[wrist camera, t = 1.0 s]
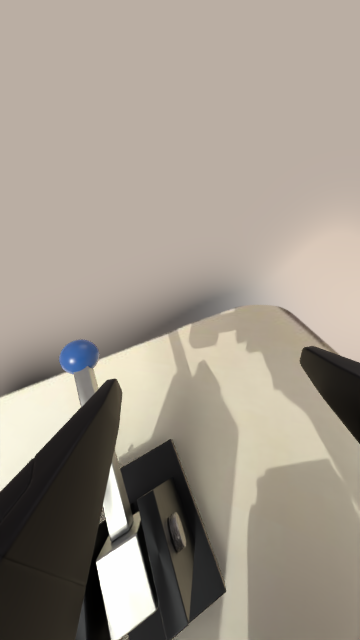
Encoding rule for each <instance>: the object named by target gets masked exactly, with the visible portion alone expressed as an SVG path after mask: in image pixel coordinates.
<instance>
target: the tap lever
mask: <svg viewBox="0 0 360 640" xmlns="http://www.w3.org/2000/svg"><path fill="white" fill-rule="evenodd" d="M98 360H99V351H98V348H97V347H96V346H95V344H93V343H92V342H90V341H88V340H75V341H72V342H70V343H68V344H67V345H66V346H65V347H64V348H63V349H62V351H61V353H60V357H59V361H60V365H61V367H62V368H63V369H64V370H65V371H66V372H68V373H70V374H74V377H75V382H76V386H77V391H78V395H79V400H80V404H81V407H82V406H83V405H84V404H85V403H86V402H87V401H88V400H89V399H90V397H91V396H92V395H93V394H94V393H95V392H96V391H97V390H98V385H97V381H96V378H95V374H94V370H93V368H94V367H95V366H96V364H97V362H98ZM103 509H104V514H105V518H106V523H107V527H108V532H109V536H108V538H107V540H106V542H105V544H104V546H103V548H102V550H101V552H100V554H99V555H98V557H97V559H96V567H97V572H98V577H99V583H100V588H101V593H102V599H103V604H104V609H105V615H106V620H107V625H108V631H109V636H110V640H121V639H122V638H123V637H124V636H126V635H127V634H128V633H129V632H131V631H132V630H133V629H134V628H136V627H137V626H138V625H139V624H141V623H142V622H143V621H144V620H146V619H147V618H148V617H149V616H151V615H152V614H153V613H154V612H156V610H157V607H158V598H157V593H156V589H155V584H154V579H153V575H152V570H151V565H150V561H149V556H148V551H147V546H146V542H145V537H144V532H143V528H142V523H141V518H140V514H139V512H137V513H136V514H134V515H132V511H131V507H130V504H129V500H128V496H127V493H126V489H125V485H124V481H123V478H122V474H121V470H120V467H119V463H118V459H117V455H116V452H115V449H114V454H113V459H112V464H111V468H110V473H109V478H108V483H107V488H106V493H105V497H104V502H103Z"/></svg>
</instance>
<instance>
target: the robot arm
mask: <svg viewBox="0 0 360 640" xmlns="http://www.w3.org/2000/svg"><path fill="white" fill-rule="evenodd" d="M300 364H301V366H302V368H303V369H304V371H305V372H306V374H307V375H308V377H309V378H310V380H311V381H312V383H313V384H314V386H315V387H316V389H317V390H318V392H319V393H320V395H321V396H322V397H323V399H324V400H325V401H326V402H327V404H328V405H329V406H330V407H331V409H332V410H333V411H334V412H335V414H336V415H337V416H338V417H339V419H340V420H341V421H342V422H343V424H344V425H345V426H346V427H347V429H348V430H349V431H350V432H351V434H352V435H353V436H354V437H355V439H356V440H357V441H358V442H359V444H360V363H359V362H356V361H353V360H351V359H348V358H345V357H342V356H340V355H337V354H334V353H331V352H329V351H326V350H323V349H320V348H317V347H315V346H309V347H304V348H303V350H302V353H301V358H300ZM121 402H122V390H121V388H120V385H119V383H118V381H117V379H110V380H107V381H106V382H105V383H104V384H103V385H102V386H101V387H100V388H99V389H98V390H97V391H96V392H95V393H94V394H93V395H92V396H91V397H90V399H89V400H88V401H87V402H86V403H85V404H84V405H83V406H82V407H81V408H80V409H79V410H78V411H77V412H76V413H75V414H74V415H73V416H72V418H71V419H70V420H69V421H68V422H67V423H66V424H65V425H64V426H63V427H62V428H61V429H60V430H59V431H58V432H57V433H56V434H55V435H54V436H53V438H52V439H51V440H50V441H49V442H48V443H47V444H46V445H45V446H44V447H43V448H42V449H41V450H40V451H39V452H38V453H37V454H36V455H35V457H34V458H33V459H32V460H31V461H30V462H29V463H28V464H27V465H26V466H25V467H24V468H23V469H22V470H21V471H20V472H19V473H18V474H17V475H16V476H15V477H14V478H13V479H12V480H11V481H10V482H9V483H8V484H7V486H6V487H5V488H4V489H3V490H2V491H1V492H0V640H75V638H76V633H77V628H78V623H79V619H80V614H81V609H82V604H83V599H84V594H85V590H86V587H85V586H86V584H87V579H88V574H89V570H90V565H91V560H92V555H93V550H94V545H95V541H96V536H97V531H98V526H99V521H100V517H101V512H102V507H103V502H104V497H105V493H106V488H107V483H108V478H109V473H110V468H111V464H112V459H113V454H114V449H115V444H116V440H117V435H118V429H119V422H120V412H121Z"/></svg>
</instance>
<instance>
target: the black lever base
mask: <svg viewBox="0 0 360 640" xmlns="http://www.w3.org/2000/svg"><path fill="white" fill-rule="evenodd" d="M120 470H121V474H122V478H123V481H124V485H125V489H126V493H127V496H128V500H129V504H130V507H131V511H132V515H134V514H136V513H137V512H139V514H140V518H141V523H142V528H143V532H144V537H145V542H146V546H147V551H148V556H149V561H150V565H151V570H152V575H153V579H154V584H155V589H156V593H157V598H158V607H157V610H156V612H154V613H153V614H152V615H151V616H149V617H148V618H147V619H146V620H144V621H143V622H142V623H141V624H139V625H138V626H137V627H136V628H134V629H133V630H132V631H131V632H129V633H128V635H129V640H171V639H173V638H174V637H175V636H176V635H177V634H178V633H180V632H181V631H182V630H183V629H184V628H185V627H187V626H188V624H189V623H190V622H191V621H192V620H193V619H195V618H196V617H197V616H198V615H199V614H200V613H202V612H203V611H204V610H205V609H206V608H207V607H209V606H210V605H211V604H212V603H213V602H215V601H216V600H217V599H218V598H219V597H220V596H222V595H223V594H224V593H225V592H226V588H225V582H224V579H223V577H222V574H221V571H220V568H219V566H218V563H217V560H216V558H215V555H214V552H213V549H212V547H211V544H210V541H209V538H208V536H207V533H206V530H205V528H204V525H203V522H202V519H201V517H200V514H199V511H198V509H197V506H196V503H195V500H194V498H193V495H192V492H191V490H190V487H189V484H188V481H187V479H186V476H185V473H184V471H183V468H182V465H181V462H180V460H179V457H178V454H177V452H176V449H175V446H174V443H173V441H172V440H171V439H170V440H168V441H167V442H165V443H163V444H162V445H160V446H158V447H156V448H155V449H153V450H151V451H150V452H148V453H146V454H145V455H143V456H141V457H139V458H138V459H136V460H134V461H133V462H131V463H129V464H128V465H126V466H124V467H122V468H121V469H120ZM108 536H109V532H108V527H107V523H106V520H104V521H103V522H101V523H100V524H99V526H98V531H97V536H96V541H95V545H94V550H93V555H92V560H91V565H90V570H89V574H88V579H87V584H86V586H85V587H86V590H85V594H84V599H83V604H82V609H81V614H80V619H79V623H78V628H77V633H76V638H75V640H110V636H109V631H108V625H107V620H106V615H105V609H104V604H103V599H102V593H101V588H100V583H99V577H98V572H97V567H96V559H97V557H98V555H99V554H100V552H101V550H102V548H103V546H104V544H105V542H106V540H107V538H108Z"/></svg>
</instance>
